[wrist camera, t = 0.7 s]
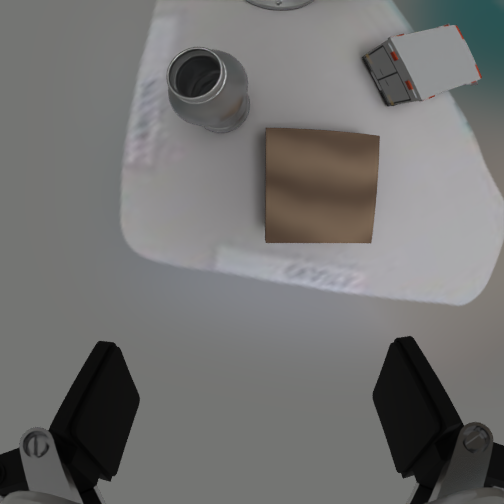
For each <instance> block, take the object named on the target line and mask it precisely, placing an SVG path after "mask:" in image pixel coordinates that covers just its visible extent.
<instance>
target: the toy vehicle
mask: <svg viewBox="0 0 504 504" xmlns="http://www.w3.org/2000/svg"><path fill="white" fill-rule="evenodd" d="M362 58H363V60H364V62H365V63H366V65H367V67H368V69H369V70H370V72H371V74H372V76H373V78H374V80H375V82H376V84H377V86H378V88H379V90H380V92H381V94H382V96H383V98H384V100H385V102H386V104H387V106H394V105H397V104H402V103H407V102H413V101H424V100H427V99H429V98H432V97H435V95H436V94H439V93H442V92H445V91H447V90H450V89H453V88H456V87H459V86H461V85H468V84H471V85H477V84H478V83H477V81H476V80H479V79H481V78H482V76H481V74H480V72H479V69H478V67H477V65H476V63H475V61H474V58H473V56H472V54H471V52H470V50H469V48H468V46H467V44H466V42H465V40H464V38H463V36H462V34H461V32H460V30H459V29H458V27H457V26H455V25H452V26H450V25H449V24H446V25H444V26H440V27H437V28H434V29H429V30H424V31H420V32H415V33H410V34H406V35H404V34H401V35H397V36H393V37H390V38H388V40H387V41H385V42H384V43H382V44H381V45H379V46H378V47H376V48H375V49H373V50H372V51H370V52H369V53H368V54H366V55H365V56H363V57H362Z"/></svg>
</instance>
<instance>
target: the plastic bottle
mask: <svg viewBox="0 0 504 504" xmlns="http://www.w3.org/2000/svg"><path fill="white" fill-rule="evenodd" d="M167 83H168V86H169V87H168V94H169V100H170V103H171V106H172V108H173V109H174V111H175V113H176V114H177V115H178V116H179V117H180V118H182V119H183V120H185V121H186V122H189V123H191V124H194V125H199V126H203V127H205V128H206V129H208V130H210V131H212V132H217V133H225V132H229V131H232V130H234V129H236V128H237V127H239V126H240V125H241V124H242V123H243V122H244V121H245V119H246V117H247V115H248V113H249V108H250V102H249V97H248V94H247V90H248V80H247V74H246V72H245V69H244V68H243V66H242V64H241V63H240V62H239V61H238V60H237V59H236V58H235V57H233V56H232V55H230V54H228V53H225V52H223V51H219V50H210V49H207V48H203V47H193V48H189V49H186V50H184V51H182V52H181V53H179V54H178V55H177V56H176V57H175V58H174V59H173V60H172V61H171V63H170V65H169V67H168V70H167Z"/></svg>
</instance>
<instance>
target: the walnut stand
mask: <svg viewBox="0 0 504 504" xmlns="http://www.w3.org/2000/svg"><path fill="white" fill-rule="evenodd" d="M379 140H380V136H376V135H368V134H359V133H350V132H339V131H327V130H312V129H291V128H266V200H265V241H266V243H371V240H372V232H373V224H374V215H375V205H376V194H377V181H378V165H379Z"/></svg>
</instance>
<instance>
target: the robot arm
mask: <svg viewBox="0 0 504 504" xmlns="http://www.w3.org/2000/svg"><path fill="white" fill-rule="evenodd" d="M246 1H248V2H250V3H252V4H254V5H256V6H259V7H262V8H267V9H272V10H291V9H296V8H300V7H303V6H305V5H307V4H309V3H311V2H312V1H313V0H246ZM277 4H279V5H277ZM139 401H140V397H139V394H138V392H137V389H136V387H135V384H134V382H133V380H132V377H131V375H130V373H129V370H128V367H127V365H126V362H125V360H124V357H123V355H122V352H121V350H120V348H119V347H117V346H116V344H115V343H113V342H105V341H99V342H97V344H96V345H95V347H94V349H93V350H92V352H91V353H90V355H89V357H88V359H87V360H86V362H85V364H84V366H83V367H82V369H81V371H80V372H79V374H78V376H77V378H76V379H75V381H74V383H73V384H72V386H71V388H70V390H69V392H68V393H67V396H66V397H65V399H64V401H63V403H62V405H61V406H60V408H59V410H58V412H57V414H56V416H55V418H54V420H53V422H52V424H51V426H50V428H49V430H46V429H44V428H40V427H35V428H31V429H29V430H27V431H26V432H25V433H24V434H23V436H22V437H21V440H20V443H19V445H20V446H19V448H17V449H14V450H12V451H9V452H6V453H3V454H1V455H0V504H106V503H105V501H104V499H103V497H102V495H101V493H100V491H99V489H98V487H97V482H98V479H99V478H100V479H103V480H106V481H111V478H112V476H115V475H116V474H117V471H118V468H119V465H120V461H121V458H122V455H123V452H124V448H125V445H126V442H127V439H128V436H129V433H130V430H131V427H132V423H133V421H134V417H135V415H136V411H137V409H138V406H139ZM373 401H374V404H375V407H376V410H377V413H378V416H379V418H380V421H381V424H382V427H383V430H384V433H385V436H386V439H387V442H388V445H389V448H390V451H391V455H392V457H393V461H394V464H395V467H396V470H397V472H398V473H401V474H402V477H403V478H406V477H410V476H413V475H415V478H416V481H417V482H416V485H415V487H414V489H413V491H412V493H411V495H410V497H409V499H408V501H407V503H406V504H504V446H503V445H500V444H497V443H494V442H493V435H492V433H491V431H490V429H489V428H488V427H487V426H485V425H484V424H481V423H479V422H472V423H468V424H466V425H465V426H464V425H463V423H462V421H461V419H460V417H459V415H458V413H457V411H456V409H455V408H454V406H453V404H452V402H451V400H450V398H449V396H448V395H447V393H446V392H445V389H444V388H443V386H442V384H441V382H440V381H439V379H438V377H437V375H436V374H435V372H434V371H433V369H432V368H431V366H430V364H429V363H428V361H427V359H426V357H425V356H424V354H423V353H422V351H421V349H420V348H419V346H418V345H417V343H416V341H415V340H414V338H413V337H411V336H408V337H401V338H396V339H395V340H394V343H391V344H390V347H389V350H388V352H387V356H386V358H385V361H384V364H383V367H382V370H381V372H380V375H379V378H378V380H377V383H376V386H375V388H374V391H373Z"/></svg>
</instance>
